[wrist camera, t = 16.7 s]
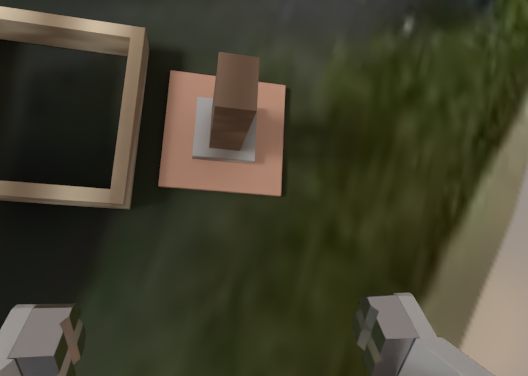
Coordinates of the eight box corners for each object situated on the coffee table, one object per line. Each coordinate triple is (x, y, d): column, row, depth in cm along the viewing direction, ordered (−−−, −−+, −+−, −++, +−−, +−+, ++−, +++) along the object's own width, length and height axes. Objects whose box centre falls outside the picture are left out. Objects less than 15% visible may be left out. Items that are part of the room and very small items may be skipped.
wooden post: (192, 158, 31) (192, 115, 22) (197, 101, 32) (198, 37, 23) (252, 164, 32) (276, 125, 23) (255, 108, 33) (280, 49, 24)
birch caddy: (-71, 195, 28) (-102, 187, 25) (-32, 23, 30) (-56, -3, 27) (130, 209, 30) (123, 204, 27) (149, 48, 33) (145, 27, 30)
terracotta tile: (158, 186, 31) (158, 185, 30) (170, 73, 33) (170, 70, 32) (279, 196, 32) (280, 195, 32) (284, 87, 34) (285, 85, 34)
